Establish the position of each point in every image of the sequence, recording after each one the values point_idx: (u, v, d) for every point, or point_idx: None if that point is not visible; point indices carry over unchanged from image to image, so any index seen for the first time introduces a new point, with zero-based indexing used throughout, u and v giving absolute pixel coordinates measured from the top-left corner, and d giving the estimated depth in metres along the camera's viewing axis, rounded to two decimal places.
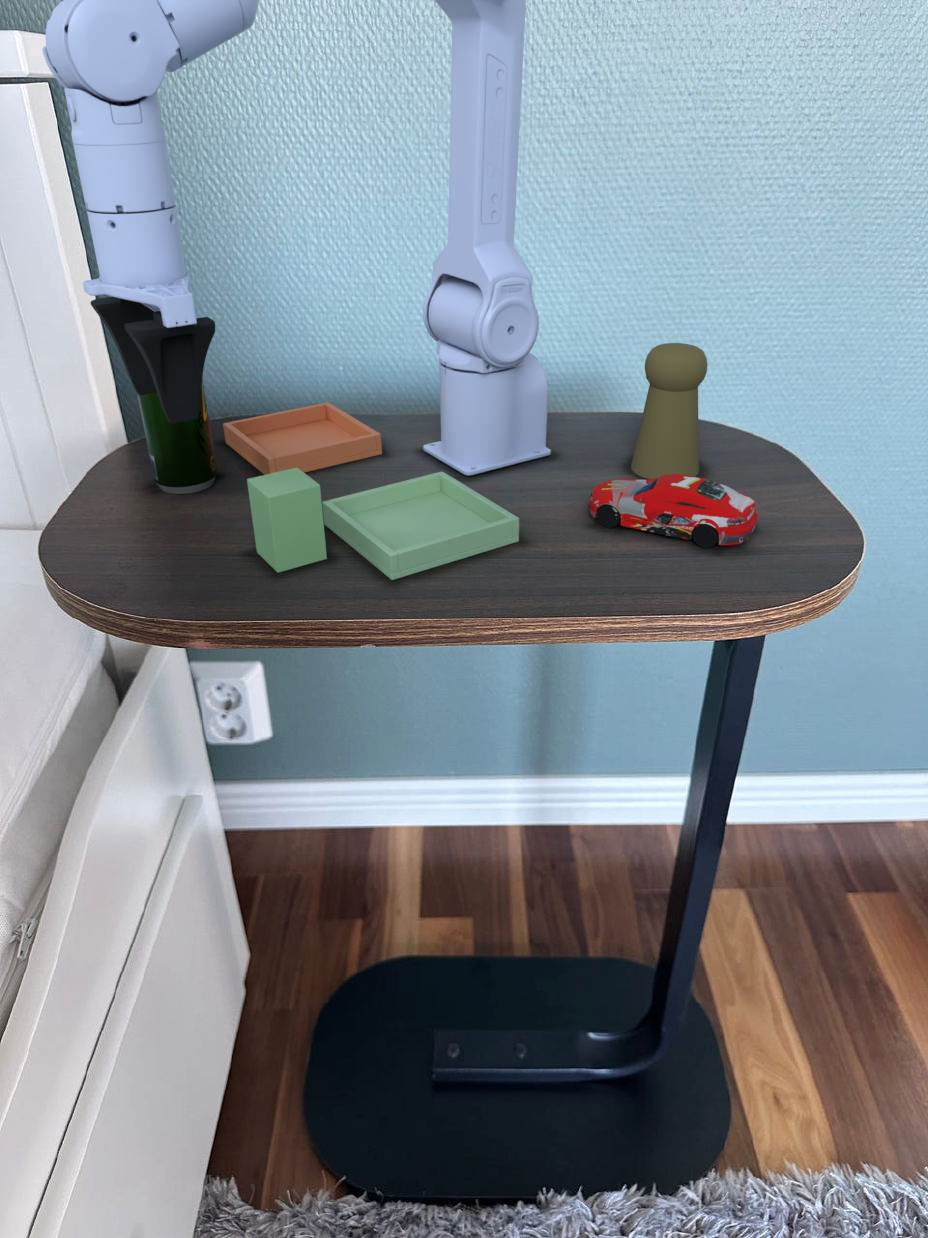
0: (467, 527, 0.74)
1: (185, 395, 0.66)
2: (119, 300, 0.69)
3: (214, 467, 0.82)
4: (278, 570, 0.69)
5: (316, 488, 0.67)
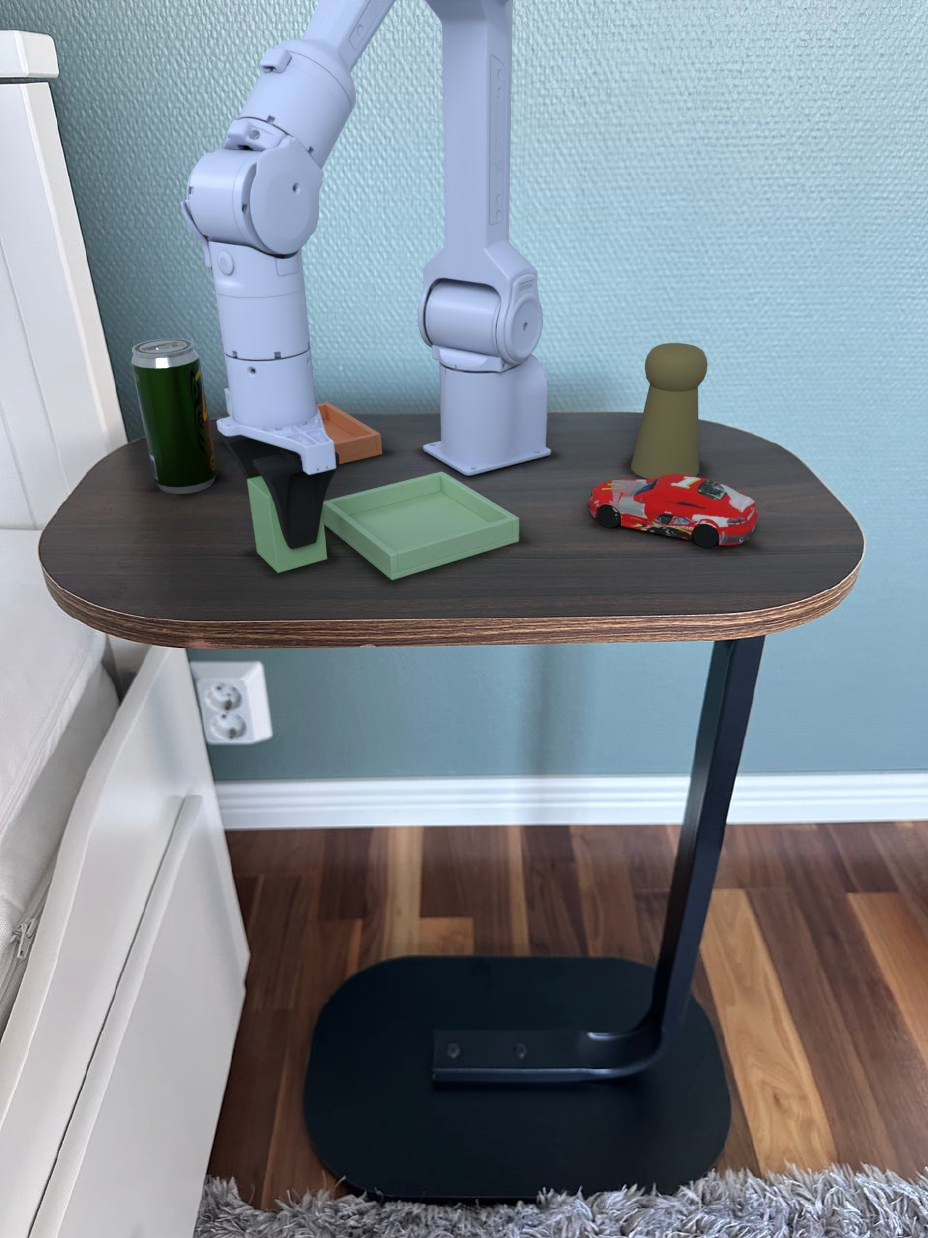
0: (467, 527, 0.74)
1: (305, 522, 0.67)
2: None
3: (214, 467, 0.82)
4: (278, 570, 0.69)
5: None
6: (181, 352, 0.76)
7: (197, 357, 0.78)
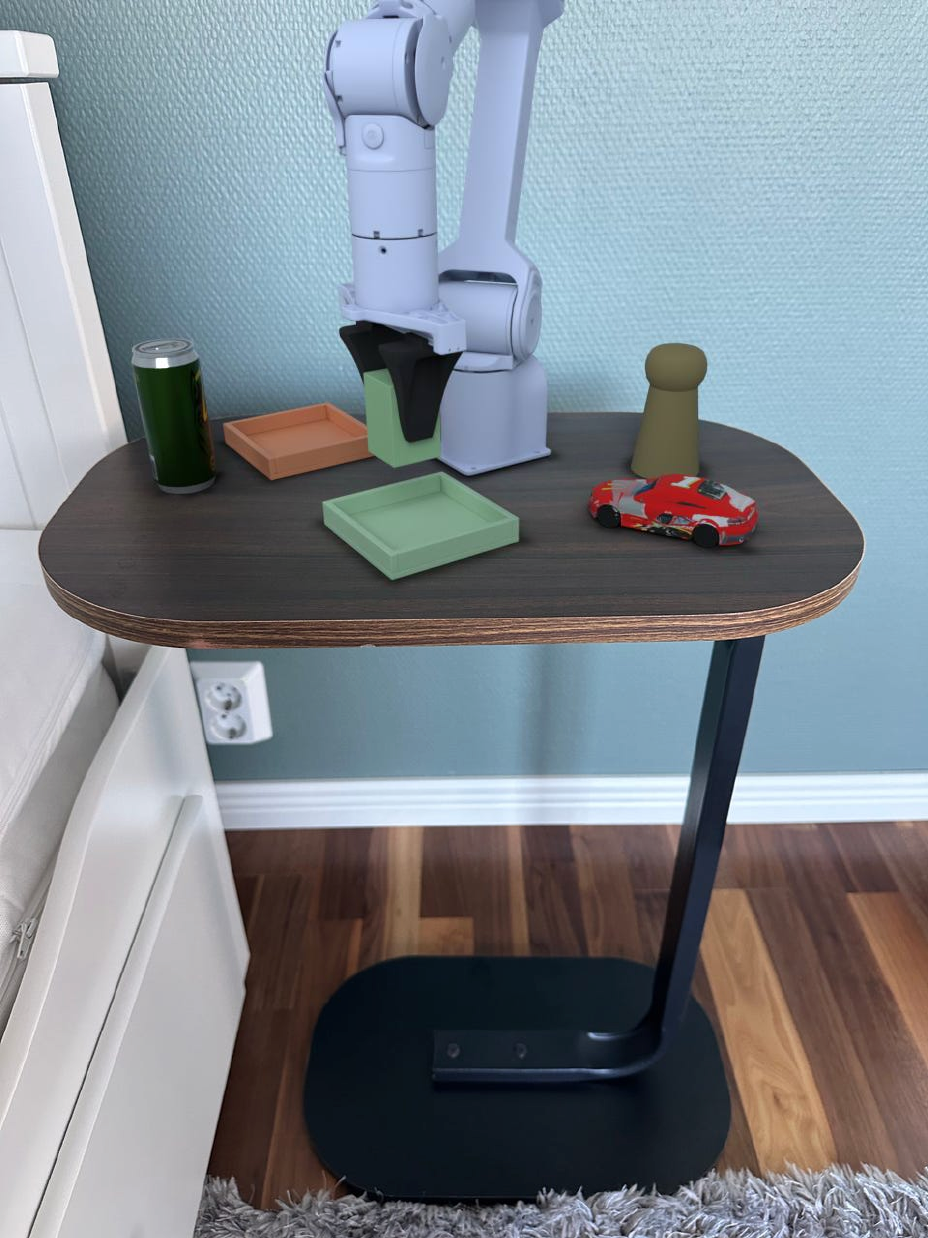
0: (467, 527, 0.74)
1: (425, 414, 0.67)
2: (370, 328, 0.67)
3: (214, 467, 0.82)
4: (394, 465, 0.68)
5: None
6: (181, 352, 0.76)
7: (197, 357, 0.78)
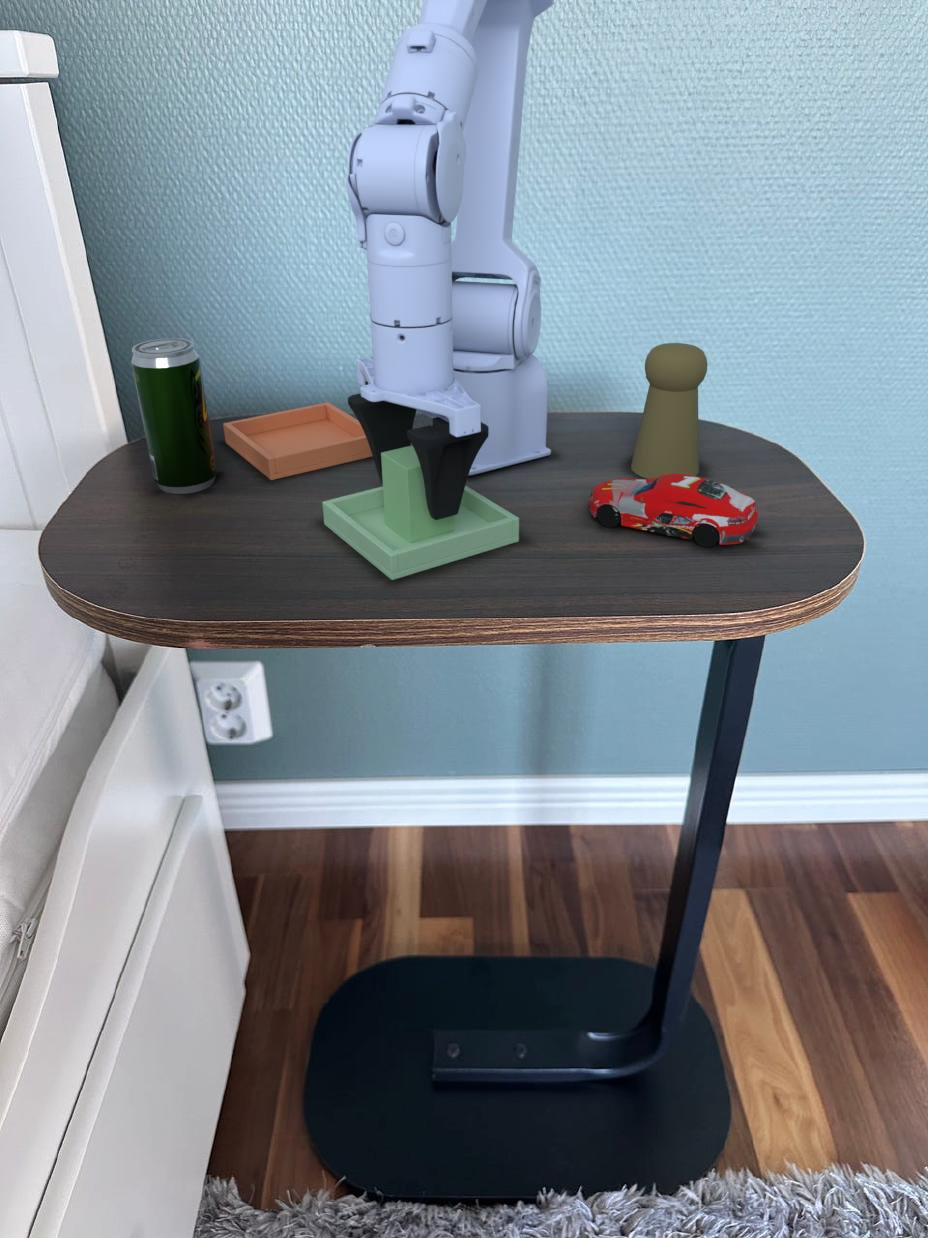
0: (467, 527, 0.74)
1: (450, 493, 0.69)
2: None
3: (214, 467, 0.82)
4: (411, 540, 0.72)
5: None
6: (181, 352, 0.76)
7: (197, 357, 0.78)
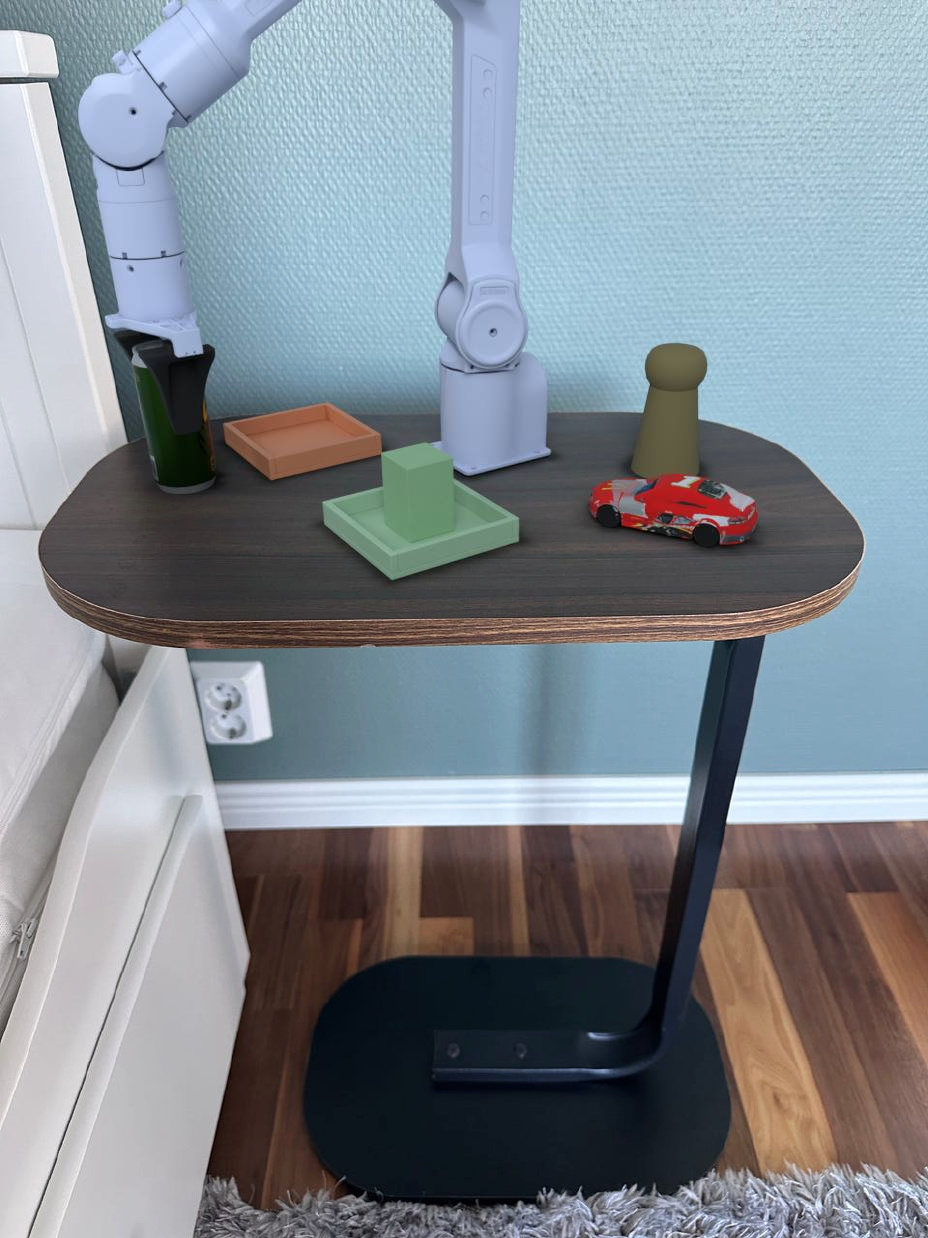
0: (467, 527, 0.74)
1: (189, 410, 0.77)
2: (138, 333, 0.78)
3: (214, 467, 0.82)
4: (411, 540, 0.72)
5: (450, 461, 0.70)
6: None
7: None
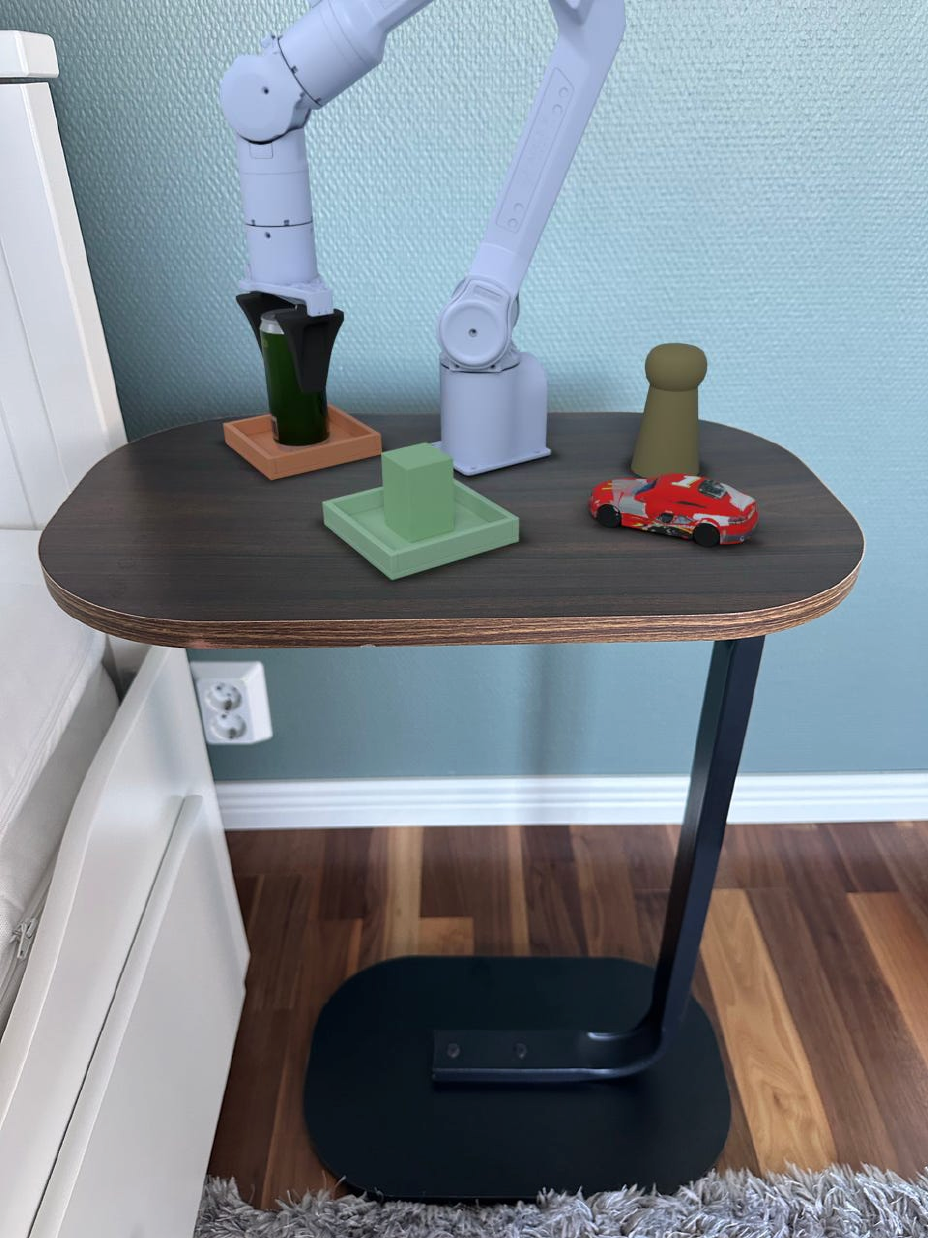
0: (467, 527, 0.74)
1: (316, 370, 0.83)
2: (259, 295, 0.85)
3: (328, 428, 0.89)
4: (411, 540, 0.72)
5: (450, 461, 0.70)
6: None
7: None
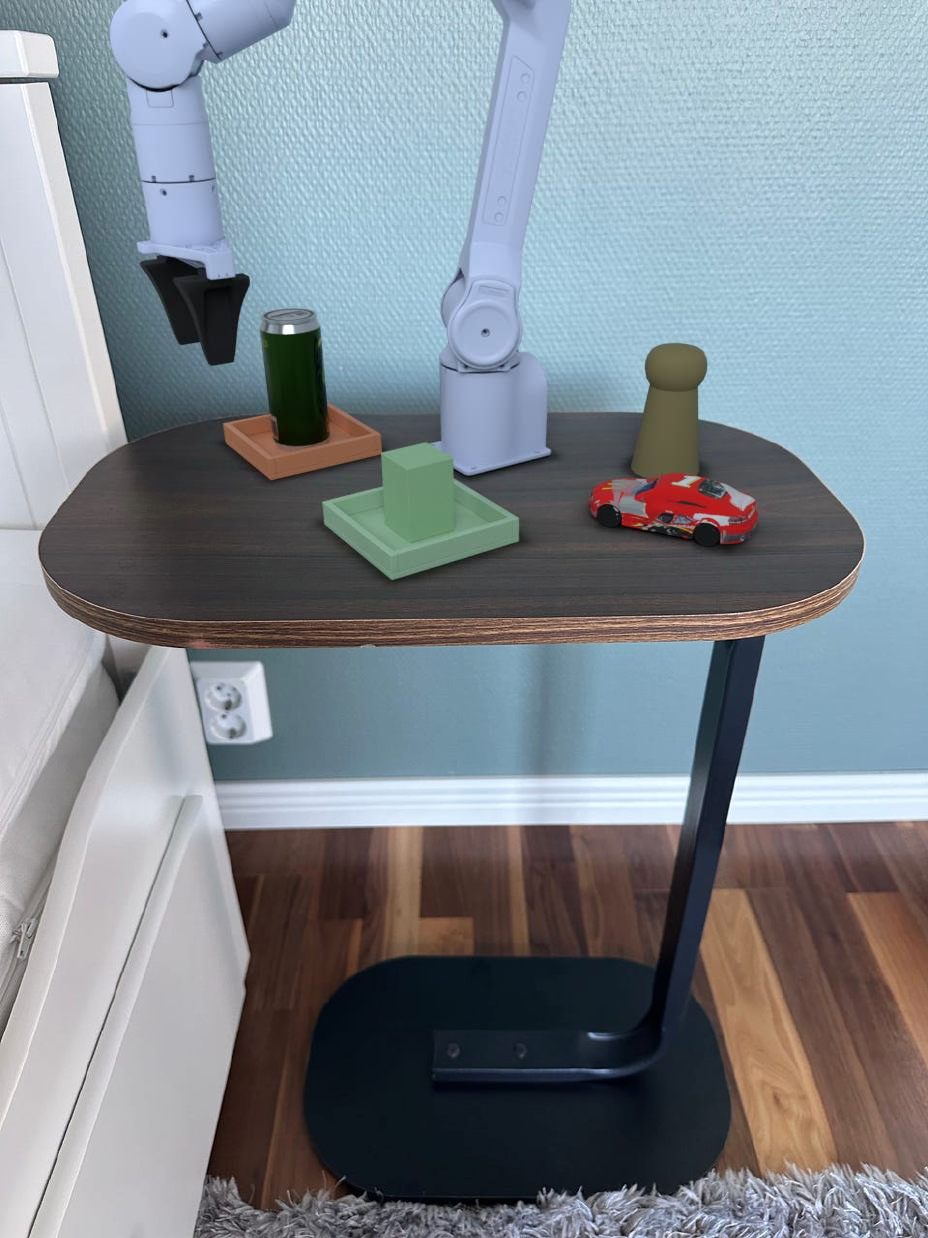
0: (467, 527, 0.74)
1: (223, 340, 0.77)
2: (165, 261, 0.80)
3: (328, 428, 0.89)
4: (411, 540, 0.72)
5: (450, 461, 0.70)
6: (307, 319, 0.82)
7: (319, 325, 0.84)
